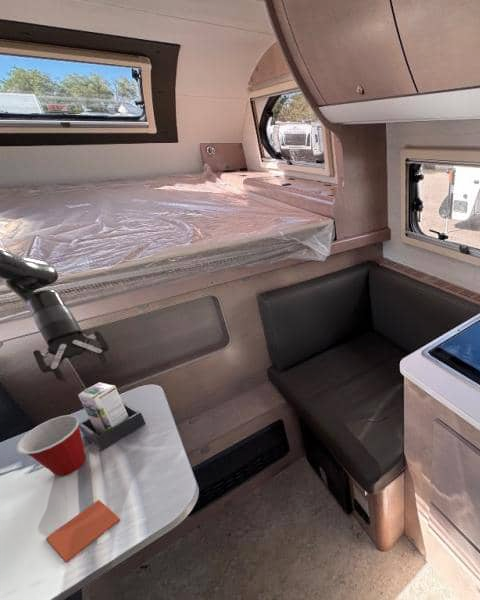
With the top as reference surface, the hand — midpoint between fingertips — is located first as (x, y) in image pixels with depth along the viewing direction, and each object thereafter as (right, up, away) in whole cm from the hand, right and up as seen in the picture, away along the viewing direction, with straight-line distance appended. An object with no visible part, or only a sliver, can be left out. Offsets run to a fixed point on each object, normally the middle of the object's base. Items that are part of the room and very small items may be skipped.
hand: (85, 373), depth 90 cm
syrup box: (+7, -17, +2) cm, 18 cm away
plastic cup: (+5, -22, -9) cm, 24 cm away
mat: (+21, -28, -22) cm, 41 cm away
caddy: (+7, -17, +2) cm, 18 cm away
